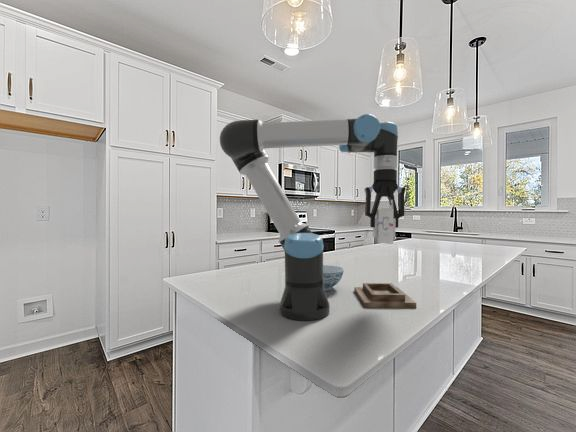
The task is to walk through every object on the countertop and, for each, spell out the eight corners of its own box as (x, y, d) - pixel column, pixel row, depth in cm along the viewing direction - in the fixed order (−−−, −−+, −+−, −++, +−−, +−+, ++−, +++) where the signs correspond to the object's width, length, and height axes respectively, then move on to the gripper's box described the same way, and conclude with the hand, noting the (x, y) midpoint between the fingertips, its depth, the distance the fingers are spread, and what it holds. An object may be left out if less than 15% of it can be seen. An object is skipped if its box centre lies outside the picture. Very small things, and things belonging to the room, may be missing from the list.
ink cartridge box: (374, 240, 104) (375, 200, 104) (389, 241, 103) (390, 200, 103) (377, 243, 96) (378, 199, 96) (393, 244, 95) (394, 199, 95)
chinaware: (346, 293, 106) (346, 272, 106) (306, 294, 106) (305, 273, 106) (340, 283, 121) (340, 264, 121) (304, 283, 121) (304, 265, 121)
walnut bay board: (364, 307, 91) (364, 296, 91) (354, 291, 109) (354, 281, 109) (416, 307, 90) (416, 296, 90) (397, 291, 108) (397, 281, 108)
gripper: (360, 167, 96) (359, 237, 96) (416, 168, 95) (415, 238, 96) (356, 170, 103) (354, 235, 104) (408, 171, 102) (406, 236, 103)
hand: (383, 237), depth 100 cm, fingers closed on ink cartridge box, 5 cm apart
